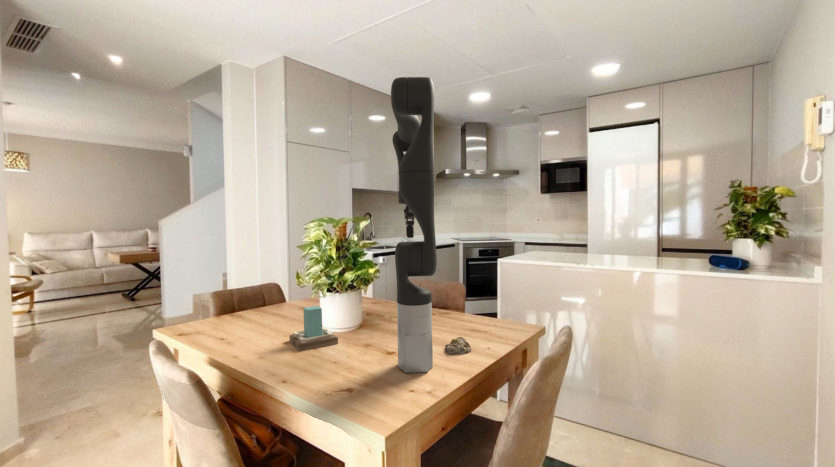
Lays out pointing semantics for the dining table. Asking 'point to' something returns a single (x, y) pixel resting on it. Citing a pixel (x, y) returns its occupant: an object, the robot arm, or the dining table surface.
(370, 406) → the dining table surface
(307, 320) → the teal block
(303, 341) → the block
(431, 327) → the robot arm
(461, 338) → the mineral rock
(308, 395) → the dining table surface
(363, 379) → the dining table surface
